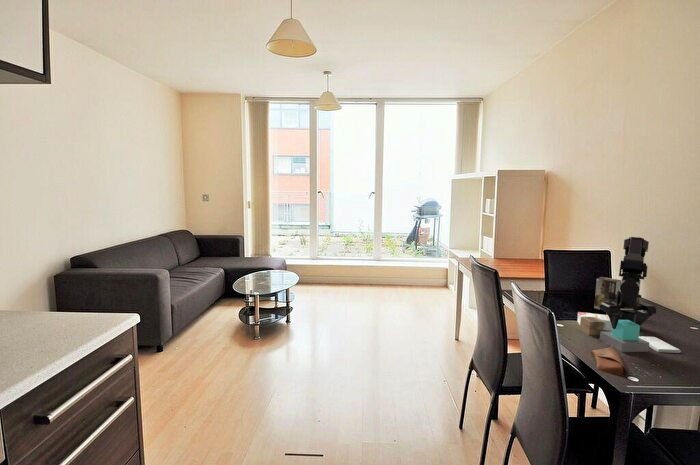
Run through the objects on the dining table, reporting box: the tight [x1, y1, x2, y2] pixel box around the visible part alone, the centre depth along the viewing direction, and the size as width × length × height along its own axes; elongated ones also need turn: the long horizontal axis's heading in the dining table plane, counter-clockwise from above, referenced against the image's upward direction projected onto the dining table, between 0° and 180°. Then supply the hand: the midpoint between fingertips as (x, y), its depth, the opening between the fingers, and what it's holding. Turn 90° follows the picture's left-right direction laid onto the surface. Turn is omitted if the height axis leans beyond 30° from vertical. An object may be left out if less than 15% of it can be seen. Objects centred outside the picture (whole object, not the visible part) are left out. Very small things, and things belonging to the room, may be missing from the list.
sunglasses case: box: [590, 346, 628, 377], centre depth 129 cm, size 18×7×7 cm
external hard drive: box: [639, 335, 682, 354], centre depth 145 cm, size 2×8×12 cm
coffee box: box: [593, 276, 622, 310], centre depth 186 cm, size 9×6×16 cm
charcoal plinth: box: [599, 331, 650, 353], centre depth 144 cm, size 11×11×4 cm
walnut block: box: [579, 317, 604, 336], centre depth 156 cm, size 6×6×6 cm
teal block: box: [612, 320, 641, 341], centre depth 143 cm, size 6×6×6 cm
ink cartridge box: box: [577, 311, 612, 332], centre depth 163 cm, size 9×5×15 cm
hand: (625, 328), depth 143 cm, fingers open, 9 cm apart
